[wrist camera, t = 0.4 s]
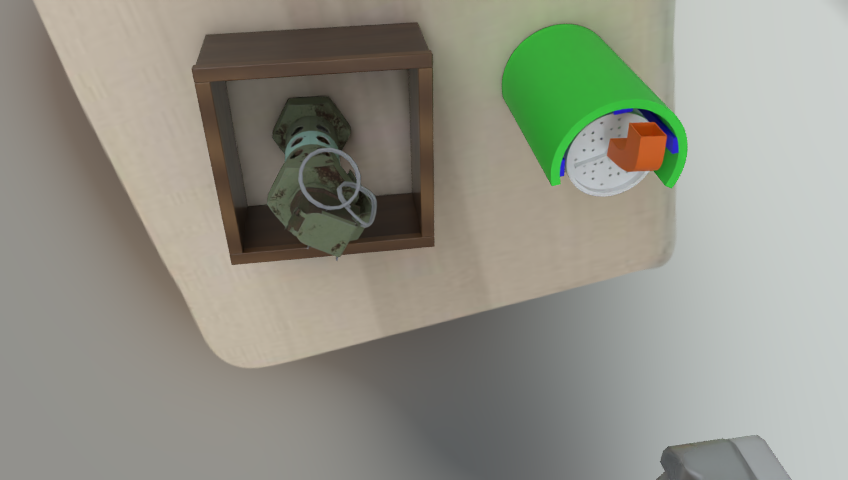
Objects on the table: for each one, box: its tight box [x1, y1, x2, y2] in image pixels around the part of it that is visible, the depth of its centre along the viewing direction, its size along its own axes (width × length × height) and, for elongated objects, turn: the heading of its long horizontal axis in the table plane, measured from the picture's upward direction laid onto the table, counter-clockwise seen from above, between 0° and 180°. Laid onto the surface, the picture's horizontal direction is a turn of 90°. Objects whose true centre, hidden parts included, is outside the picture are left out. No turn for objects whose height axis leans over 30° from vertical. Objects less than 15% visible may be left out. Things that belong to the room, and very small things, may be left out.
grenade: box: [267, 96, 377, 260], centre depth 52 cm, size 7×7×15 cm
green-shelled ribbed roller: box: [502, 24, 687, 196], centre depth 51 cm, size 9×8×18 cm
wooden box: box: [192, 23, 434, 265], centre depth 55 cm, size 16×16×7 cm
